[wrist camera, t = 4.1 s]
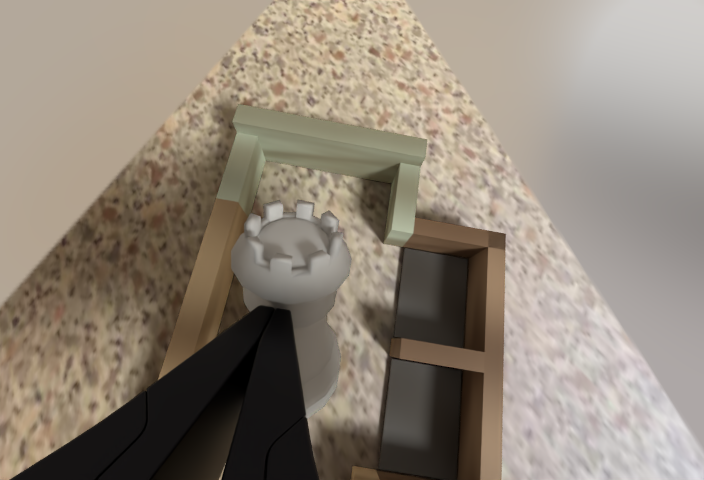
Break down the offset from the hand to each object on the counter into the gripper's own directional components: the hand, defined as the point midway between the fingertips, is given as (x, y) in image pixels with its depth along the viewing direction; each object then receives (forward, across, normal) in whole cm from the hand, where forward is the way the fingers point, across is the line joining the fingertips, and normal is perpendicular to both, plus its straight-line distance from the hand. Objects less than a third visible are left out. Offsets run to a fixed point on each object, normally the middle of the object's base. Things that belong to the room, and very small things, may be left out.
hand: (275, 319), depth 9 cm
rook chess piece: (+3, 0, +6) cm, 6 cm away
